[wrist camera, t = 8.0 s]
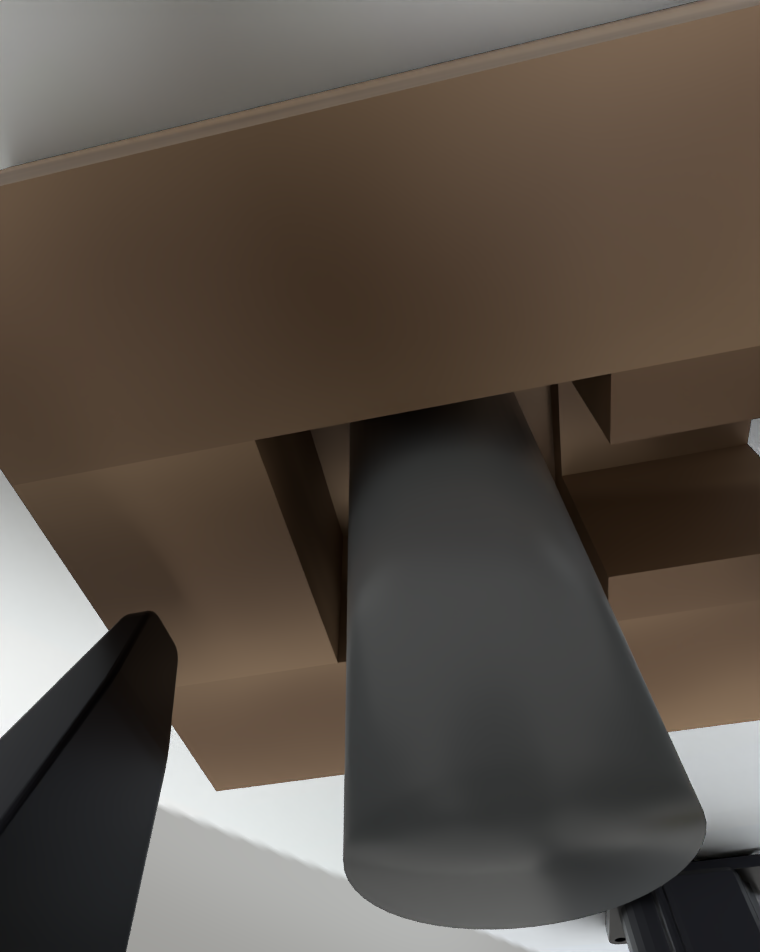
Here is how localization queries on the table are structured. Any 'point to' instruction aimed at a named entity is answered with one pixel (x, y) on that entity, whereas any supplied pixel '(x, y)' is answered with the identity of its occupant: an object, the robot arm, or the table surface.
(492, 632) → the peg
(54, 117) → the table surface
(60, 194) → the dock
